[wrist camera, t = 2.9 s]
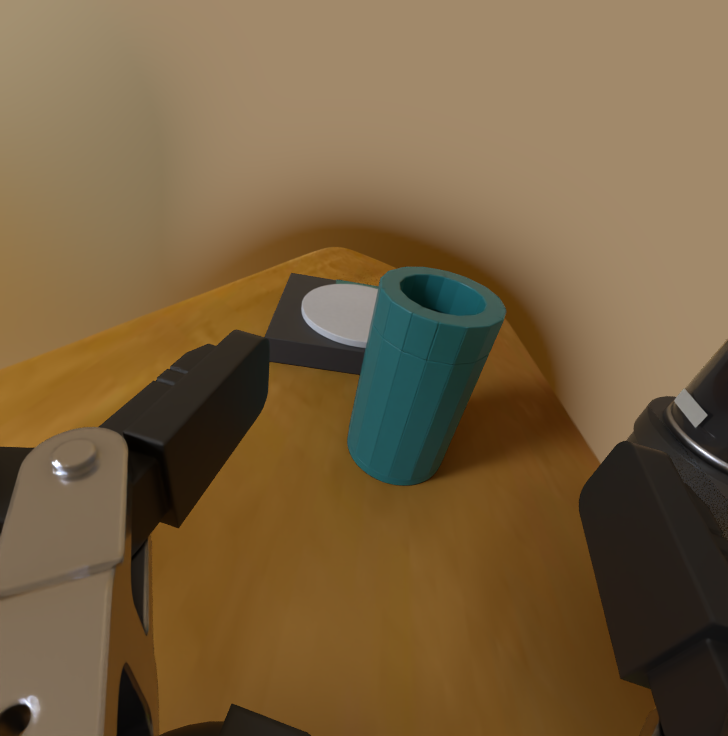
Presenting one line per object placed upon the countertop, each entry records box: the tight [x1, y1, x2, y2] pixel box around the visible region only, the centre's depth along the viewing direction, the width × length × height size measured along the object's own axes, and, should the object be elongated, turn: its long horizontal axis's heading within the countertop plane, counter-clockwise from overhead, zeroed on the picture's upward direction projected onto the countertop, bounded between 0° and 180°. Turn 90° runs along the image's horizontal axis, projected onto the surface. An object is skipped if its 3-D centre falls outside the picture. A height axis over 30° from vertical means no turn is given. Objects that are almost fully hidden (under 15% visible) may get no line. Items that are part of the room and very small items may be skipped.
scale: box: [264, 273, 378, 375], centre depth 35 cm, size 14×12×3 cm
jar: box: [347, 267, 506, 486], centre depth 22 cm, size 6×6×11 cm
